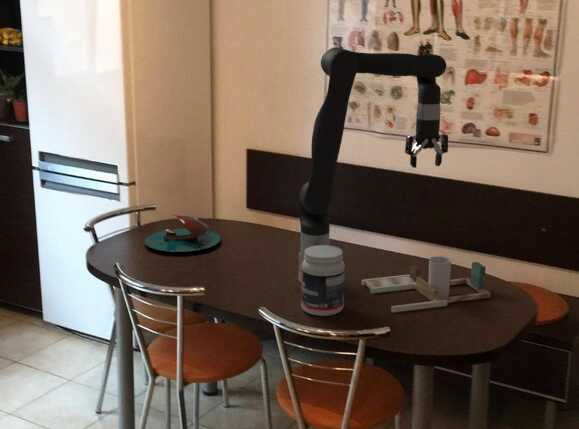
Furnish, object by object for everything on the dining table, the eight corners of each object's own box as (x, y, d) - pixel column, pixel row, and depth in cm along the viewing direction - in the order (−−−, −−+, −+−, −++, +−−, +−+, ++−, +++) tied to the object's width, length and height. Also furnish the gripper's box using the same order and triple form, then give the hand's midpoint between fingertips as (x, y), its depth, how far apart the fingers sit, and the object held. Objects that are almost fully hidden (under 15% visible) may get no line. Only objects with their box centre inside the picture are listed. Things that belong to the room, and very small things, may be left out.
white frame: (434, 304, 244) (436, 278, 242) (414, 288, 257) (415, 263, 254) (491, 297, 250) (493, 271, 247) (468, 281, 262) (470, 257, 260)
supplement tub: (292, 307, 242) (292, 249, 237) (325, 297, 250) (326, 241, 244) (319, 321, 232) (320, 261, 227) (353, 310, 240) (354, 252, 235)
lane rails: (392, 312, 239) (392, 307, 238) (361, 284, 261) (362, 279, 260) (447, 305, 244) (447, 300, 243) (412, 278, 266) (412, 274, 265)
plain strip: (371, 290, 254) (372, 275, 253) (365, 284, 259) (365, 269, 258) (420, 285, 259) (421, 269, 258) (413, 279, 264) (413, 264, 263)
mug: (442, 302, 246) (444, 265, 243) (423, 296, 251) (425, 260, 247) (458, 292, 254) (460, 256, 250) (439, 287, 258) (441, 252, 255)
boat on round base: (216, 256, 287) (215, 226, 284) (138, 255, 287) (136, 226, 284) (223, 232, 314) (223, 205, 311) (152, 232, 314) (150, 204, 311)
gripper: (413, 120, 253) (410, 170, 258) (453, 118, 257) (450, 167, 262) (403, 116, 260) (400, 165, 265) (442, 114, 264) (440, 162, 269)
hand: (425, 166), depth 263 cm, fingers open, 8 cm apart
